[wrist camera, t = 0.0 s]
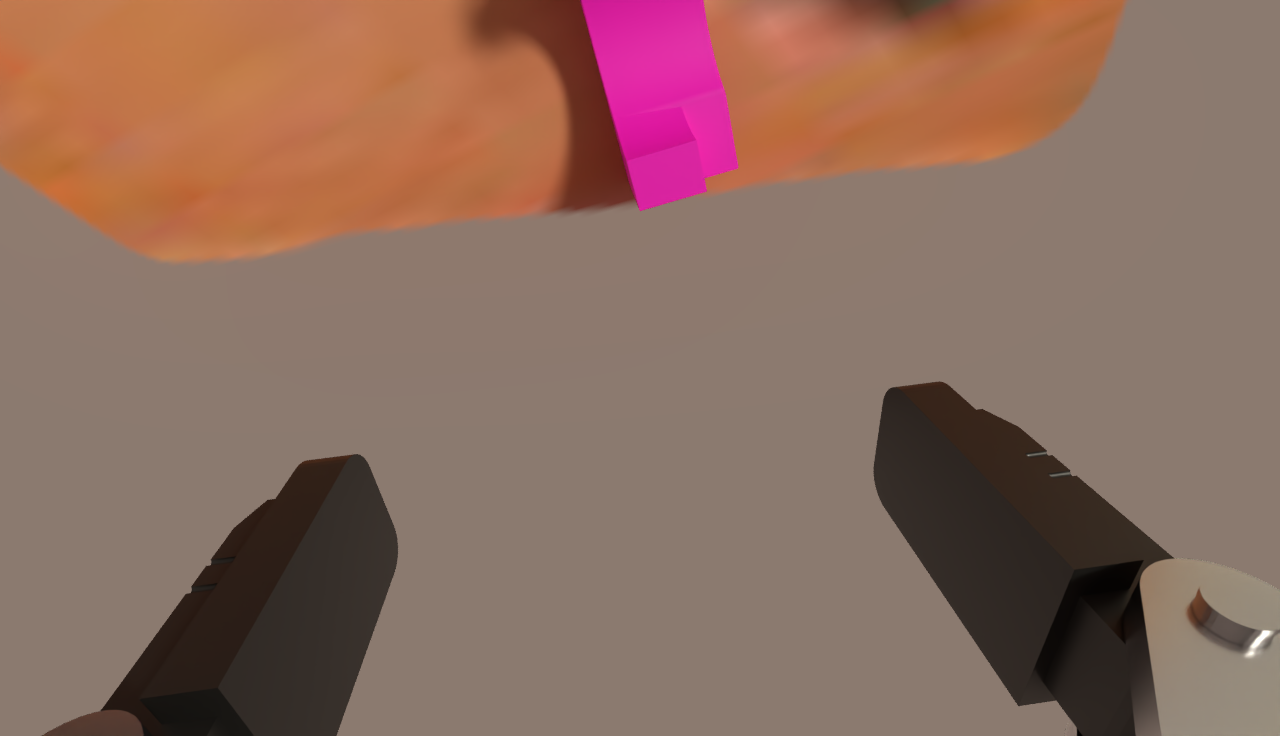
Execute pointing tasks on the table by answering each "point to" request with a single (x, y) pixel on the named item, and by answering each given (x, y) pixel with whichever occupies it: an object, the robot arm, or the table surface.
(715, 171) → the toy block
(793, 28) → the table surface
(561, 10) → the table surface
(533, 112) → the table surface
